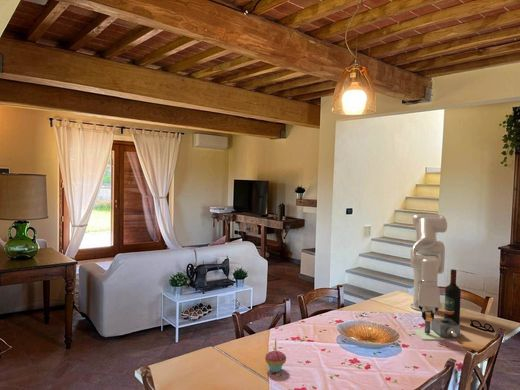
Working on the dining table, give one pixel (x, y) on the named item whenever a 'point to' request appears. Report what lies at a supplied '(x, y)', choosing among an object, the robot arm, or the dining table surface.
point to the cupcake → (275, 360)
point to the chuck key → (428, 323)
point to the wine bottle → (452, 299)
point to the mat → (427, 335)
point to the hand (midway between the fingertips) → (427, 319)
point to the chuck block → (445, 327)
